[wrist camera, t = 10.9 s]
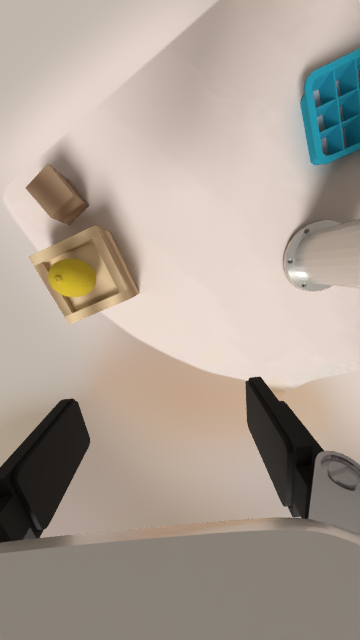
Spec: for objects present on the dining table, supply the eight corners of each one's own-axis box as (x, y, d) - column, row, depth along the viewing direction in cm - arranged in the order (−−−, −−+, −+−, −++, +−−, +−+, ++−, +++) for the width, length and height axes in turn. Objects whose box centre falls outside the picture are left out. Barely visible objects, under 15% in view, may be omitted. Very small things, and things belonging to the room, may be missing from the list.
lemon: (64, 267, 30) (25, 266, 22) (94, 254, 30) (65, 249, 22) (80, 298, 32) (49, 307, 24) (109, 286, 31) (87, 292, 23)
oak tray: (110, 232, 33) (95, 224, 27) (139, 293, 36) (131, 297, 30) (54, 258, 35) (28, 256, 29) (86, 315, 38) (69, 324, 32)
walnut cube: (68, 179, 31) (48, 163, 26) (89, 206, 32) (73, 195, 28) (48, 200, 32) (25, 187, 27) (69, 224, 33) (50, 217, 28)
